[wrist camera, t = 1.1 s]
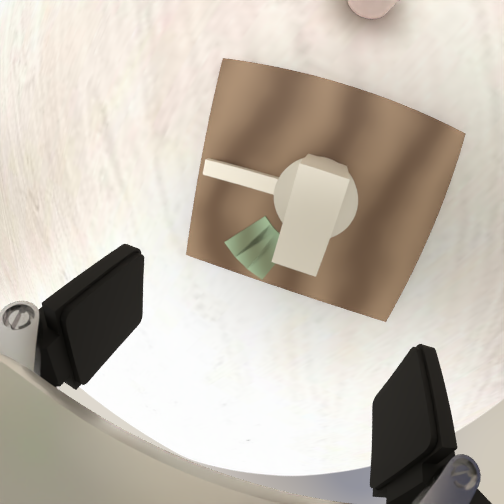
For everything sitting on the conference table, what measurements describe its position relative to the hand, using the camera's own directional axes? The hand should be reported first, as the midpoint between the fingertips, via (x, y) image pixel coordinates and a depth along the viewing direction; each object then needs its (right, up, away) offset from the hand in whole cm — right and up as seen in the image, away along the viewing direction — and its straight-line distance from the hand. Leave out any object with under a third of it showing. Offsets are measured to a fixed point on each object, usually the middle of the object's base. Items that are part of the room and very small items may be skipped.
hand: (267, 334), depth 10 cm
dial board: (+5, +8, +18) cm, 20 cm away
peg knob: (+2, +8, +16) cm, 19 cm away
